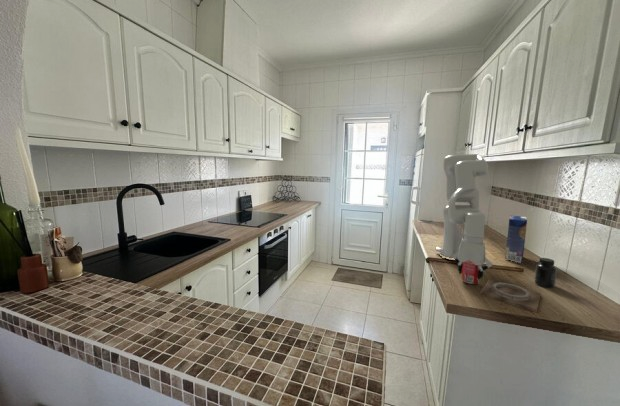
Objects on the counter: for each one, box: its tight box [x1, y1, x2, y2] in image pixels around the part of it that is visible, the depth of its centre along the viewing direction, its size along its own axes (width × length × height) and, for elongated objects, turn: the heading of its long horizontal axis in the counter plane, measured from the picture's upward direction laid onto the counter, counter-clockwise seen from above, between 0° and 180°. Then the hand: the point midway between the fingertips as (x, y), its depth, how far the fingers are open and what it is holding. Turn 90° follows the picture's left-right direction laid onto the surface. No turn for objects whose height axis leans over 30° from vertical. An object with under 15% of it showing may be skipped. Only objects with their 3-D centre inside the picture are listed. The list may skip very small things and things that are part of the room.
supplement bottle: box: [534, 257, 557, 289], centre depth 112 cm, size 7×7×12 cm
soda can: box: [460, 259, 480, 285], centre depth 116 cm, size 7×7×12 cm
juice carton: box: [504, 215, 528, 264], centre depth 142 cm, size 12×8×24 cm, turn 140°
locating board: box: [479, 279, 542, 313], centre depth 105 cm, size 18×16×3 cm
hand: (470, 275), depth 117 cm, fingers closed on soda can, 7 cm apart
